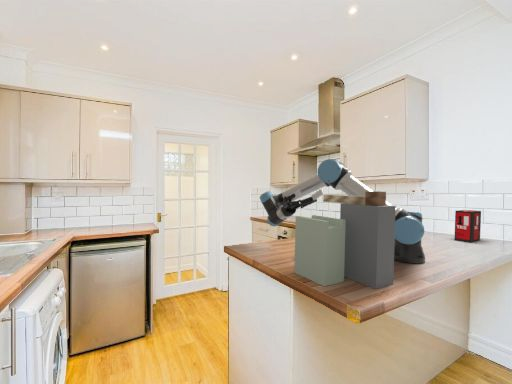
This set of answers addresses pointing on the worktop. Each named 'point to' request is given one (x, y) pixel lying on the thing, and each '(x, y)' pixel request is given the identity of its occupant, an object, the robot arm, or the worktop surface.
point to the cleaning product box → (467, 225)
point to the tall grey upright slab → (369, 243)
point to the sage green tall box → (320, 249)
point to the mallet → (359, 198)
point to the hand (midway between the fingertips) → (310, 191)
